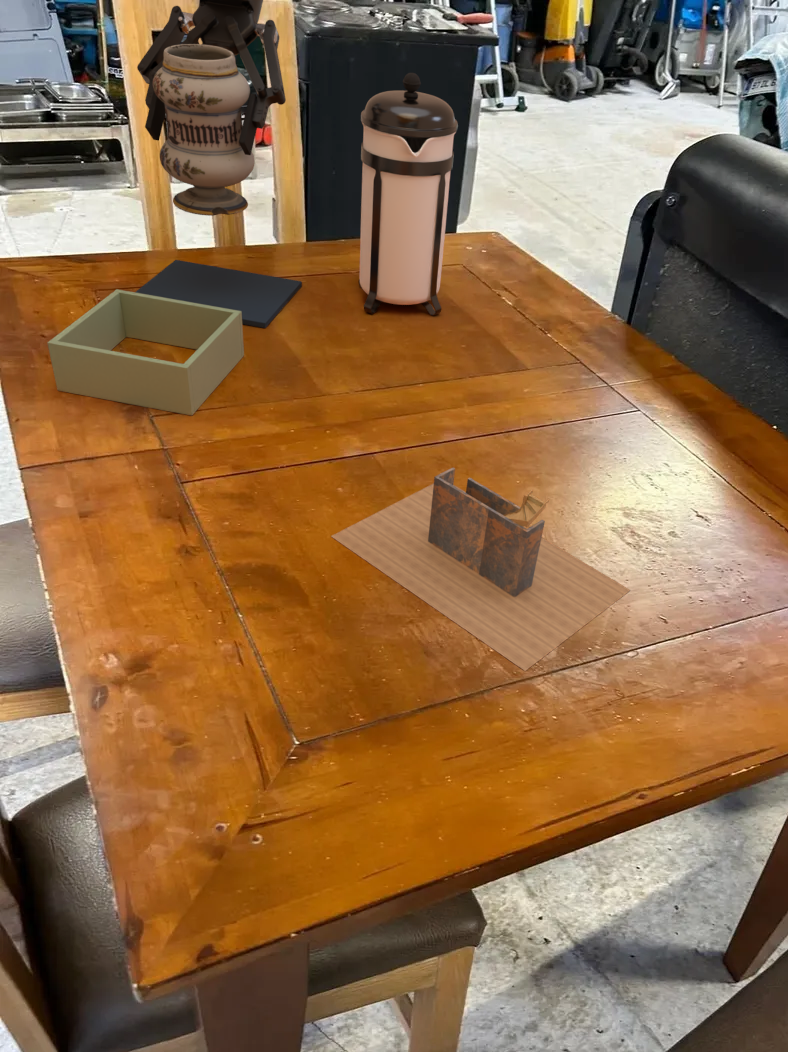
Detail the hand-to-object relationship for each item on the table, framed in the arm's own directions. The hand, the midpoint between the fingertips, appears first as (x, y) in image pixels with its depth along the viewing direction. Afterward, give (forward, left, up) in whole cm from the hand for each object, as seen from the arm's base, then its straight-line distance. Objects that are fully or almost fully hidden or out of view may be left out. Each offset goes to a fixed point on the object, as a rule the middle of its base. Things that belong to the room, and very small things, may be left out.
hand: (198, 141), depth 113 cm
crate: (+2, -22, -21) cm, 31 cm away
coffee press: (+24, +13, -21) cm, 34 cm away
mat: (0, +3, -21) cm, 21 cm away
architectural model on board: (+47, -47, -21) cm, 70 cm away
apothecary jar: (0, +3, -9) cm, 9 cm away
